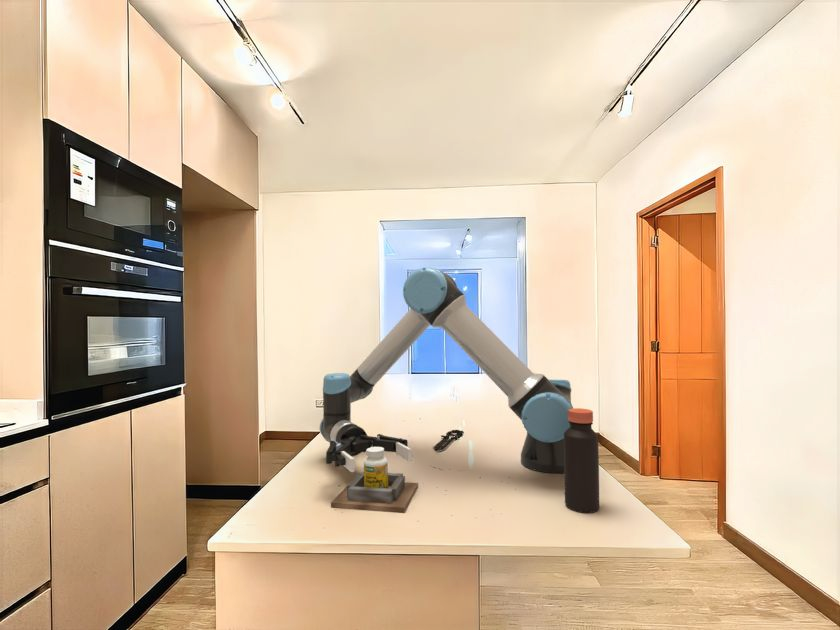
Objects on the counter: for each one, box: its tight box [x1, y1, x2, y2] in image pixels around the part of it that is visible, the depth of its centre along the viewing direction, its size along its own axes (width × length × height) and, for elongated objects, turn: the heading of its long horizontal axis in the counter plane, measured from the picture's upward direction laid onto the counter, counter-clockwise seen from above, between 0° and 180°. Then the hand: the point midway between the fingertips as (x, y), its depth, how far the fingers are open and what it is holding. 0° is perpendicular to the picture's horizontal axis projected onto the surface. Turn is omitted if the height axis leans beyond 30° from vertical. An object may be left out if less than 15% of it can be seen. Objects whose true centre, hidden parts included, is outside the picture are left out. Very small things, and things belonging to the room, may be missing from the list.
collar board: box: [330, 471, 419, 514], centre depth 98 cm, size 16×14×4 cm
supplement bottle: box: [363, 447, 389, 489], centre depth 98 cm, size 5×5×10 cm
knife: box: [433, 429, 464, 453], centre depth 142 cm, size 25×6×1 cm, turn 155°
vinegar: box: [563, 407, 600, 514], centre depth 92 cm, size 7×7×20 cm
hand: (382, 460), depth 95 cm, fingers open, 13 cm apart
